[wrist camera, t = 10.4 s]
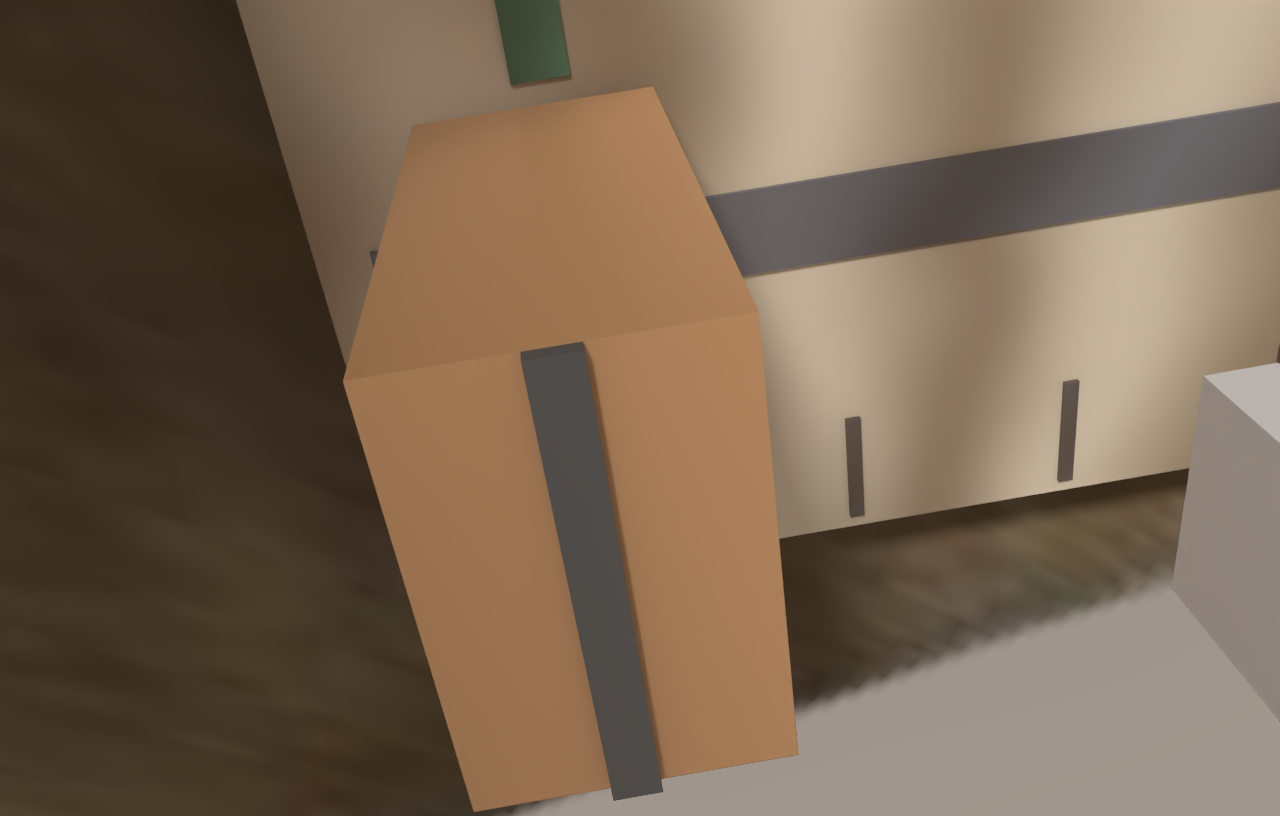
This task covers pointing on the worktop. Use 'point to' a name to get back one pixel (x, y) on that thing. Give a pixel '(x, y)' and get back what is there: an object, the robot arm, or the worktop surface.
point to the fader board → (877, 206)
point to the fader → (575, 453)
